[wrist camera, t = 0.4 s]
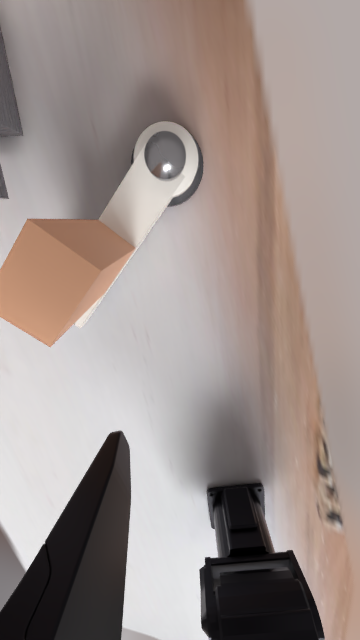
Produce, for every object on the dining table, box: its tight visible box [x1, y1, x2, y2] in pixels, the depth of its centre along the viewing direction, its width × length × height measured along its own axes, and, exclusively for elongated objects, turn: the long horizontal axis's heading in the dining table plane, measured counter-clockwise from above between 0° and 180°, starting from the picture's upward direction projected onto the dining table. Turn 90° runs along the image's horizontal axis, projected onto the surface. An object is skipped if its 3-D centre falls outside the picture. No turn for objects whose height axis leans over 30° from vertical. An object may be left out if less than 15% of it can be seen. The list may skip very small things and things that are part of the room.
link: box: [0, 121, 198, 347], centre depth 15 cm, size 15×4×11 cm, turn 142°
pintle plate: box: [131, 131, 203, 207], centre depth 17 cm, size 5×5×4 cm
